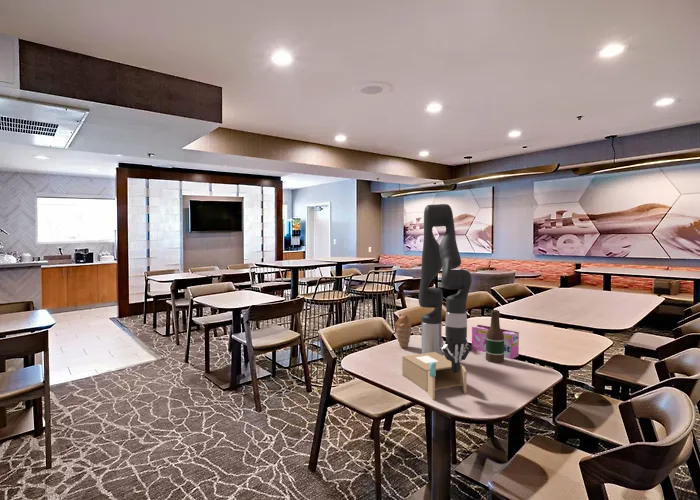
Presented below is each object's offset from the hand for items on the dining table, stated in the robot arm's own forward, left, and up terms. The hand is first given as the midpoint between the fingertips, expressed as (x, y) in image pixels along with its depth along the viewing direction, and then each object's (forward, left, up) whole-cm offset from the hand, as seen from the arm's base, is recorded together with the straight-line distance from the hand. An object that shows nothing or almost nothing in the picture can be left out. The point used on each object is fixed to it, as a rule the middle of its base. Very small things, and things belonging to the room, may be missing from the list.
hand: (455, 372), depth 135 cm
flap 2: (-7, -5, -8) cm, 12 cm away
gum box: (-47, -33, -9) cm, 58 cm away
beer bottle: (-39, -23, -8) cm, 46 cm away
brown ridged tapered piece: (-11, -57, -8) cm, 59 cm away
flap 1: (+8, -5, -8) cm, 13 cm away
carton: (+1, -15, -8) cm, 17 cm away
